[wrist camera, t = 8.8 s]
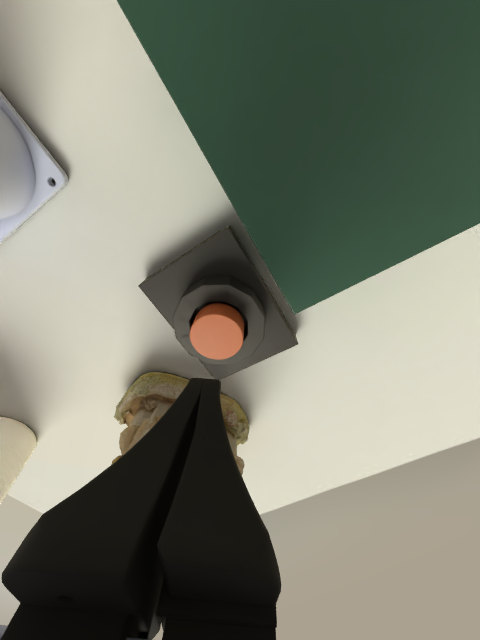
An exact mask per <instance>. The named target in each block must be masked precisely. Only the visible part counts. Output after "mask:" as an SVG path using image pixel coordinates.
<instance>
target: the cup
mask: <svg viewBox="0 0 480 640" xmlns="http://www.w3.org/2000/svg"><path fill="white" fill-rule="evenodd" d="M36 446H37V442H36V436H35V434H34V433H33V431H32V430H31V429H30V428H29V427H27V426H26V425H24V424H23V423H21V422H19V421H17V420H14V419H11V418H6V417H0V504H1V502H2V501H3V500H4V497H5V496H6V495H7V493H8V491H9V490H10V488H11V486H12V485H13V483H14V481H15V480H16V479H17V477H18V475H19V474H20V472H21V470H22V469H23V467H24V466H25V464H26V463H27V461H28V459H29V458H30V456H31V454H32V453H33V451H34V450H35V448H36Z"/></svg>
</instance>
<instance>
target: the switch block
mask: <svg viewBox="0 0 480 640" xmlns="http://www.w3.org/2000/svg"><path fill="white" fill-rule="evenodd" d="M139 287H140V289H141V290H142V291H143V292H144V294H145V295H146V296H147V297H148V298H149V300H150V301H151V302H152V303H153V304H154V306H155V307H156V308H157V309H158V310H159V312H160V313H161V314H162V315H163V317H164V318H165V319H166V320H167V321H168V323H169V324H170V325H171V326H172V327H173V329H174V330H175V335H176V338H177V340H178V341H179V342H180V343H181V344H182V346H183V347H184V348H185V349H186V350H187V352H188V353H189V354H191V355H192V356H194V357H196V358H198V359H199V360H200V361H201V363H202V364H203V365H204V366H205V367H206V369H207V370H208V371H209V372H210V374H211V375H212V376H213V377H214V378H215V380H220V379H222V378H225V377H227V376H229V375H231V374H233V373H236V372H238V371H240V370H242V369H245V368H247V367H249V366H251V365H253V364H256V363H258V362H260V361H262V360H264V359H267V358H269V357H271V356H273V355H275V354H278V353H280V352H282V351H284V350H286V349H289V348H291V347H293V346H295V345H298V342H297V339H296V335H295V334H294V332H293V330H292V328H291V327H290V325H289V323H288V322H287V320H286V318H285V317H284V315H283V313H282V311H281V310H280V308H279V306H278V305H277V303H276V301H275V300H274V298H273V296H272V294H271V293H270V291H269V289H268V288H267V286H266V284H265V283H264V281H263V279H262V278H261V276H260V274H259V272H258V271H257V269H256V267H255V266H254V264H253V262H252V261H251V259H250V257H249V255H248V254H247V252H246V250H245V249H244V247H243V245H242V244H241V242H240V240H239V238H238V237H237V235H236V233H235V232H234V230H233V228H232V227H231V225H228V226H227V227H225V228H224V229H222V230H221V231H219V232H218V233H216V234H215V235H213V236H212V237H210V238H208V239H207V240H205V241H204V242H202V243H201V244H199V245H198V246H196V247H195V248H193V249H192V250H190V251H189V252H187V253H186V254H184V255H182V256H181V257H179V258H178V259H176V260H175V261H173V262H172V263H170V264H169V265H167V266H166V267H164V268H163V269H161V270H159V271H158V272H156V273H155V274H153V275H152V276H150V277H149V278H147V279H146V280H144V281H143V282H142V283H141V284H140V285H139ZM213 303H223V304H227V305H229V306H231V307H233V308H235V309H236V310H237V311H238V312H239V313H240V315H241V316H242V318H243V321H244V338H243V344H242V346H241V348H240V350H239V351H238V352H237V353H236V354H235V355H233V356H231V357H229V358H226V359H220V360H217V359H210V358H207V357H205V356H203V355H201V354H200V353H199V352H197V351H196V349H195V348H194V347H193V345H192V343H191V340H190V329H191V326H192V324H193V322H194V320H195V317H196V315H197V313H198V312H199V311H200V310H201V309H202V308H203V307H205V306H207V305H209V304H213Z"/></svg>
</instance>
